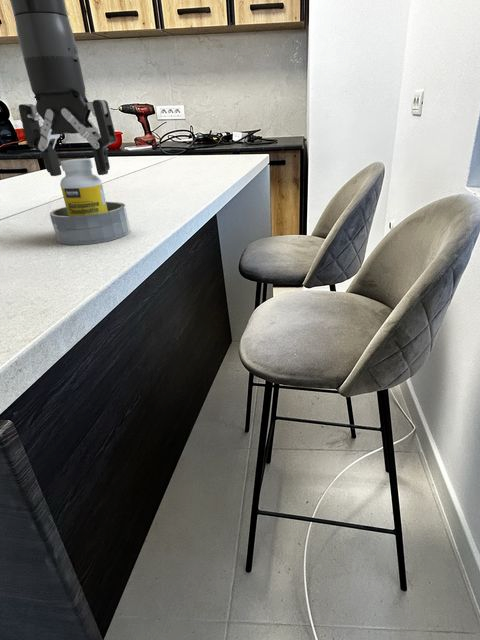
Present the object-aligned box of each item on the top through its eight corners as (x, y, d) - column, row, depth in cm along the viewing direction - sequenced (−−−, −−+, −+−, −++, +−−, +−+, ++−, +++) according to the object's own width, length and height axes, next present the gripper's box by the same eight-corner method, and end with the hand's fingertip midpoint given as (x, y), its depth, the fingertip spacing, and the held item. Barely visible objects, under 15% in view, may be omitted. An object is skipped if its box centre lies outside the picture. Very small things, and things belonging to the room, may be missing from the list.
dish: (42, 244, 71) (33, 217, 69) (81, 226, 82) (75, 202, 79) (109, 245, 69) (102, 216, 67) (141, 226, 79) (136, 201, 77)
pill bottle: (65, 237, 73) (45, 163, 67) (85, 227, 78) (68, 158, 73) (101, 237, 72) (83, 161, 66) (118, 227, 77) (103, 157, 72)
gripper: (-10, 57, 61) (26, 179, 69) (81, 49, 58) (108, 177, 66) (24, 61, 67) (54, 173, 75) (108, 55, 64) (129, 170, 72)
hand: (79, 175), depth 70 cm, fingers open, 8 cm apart
